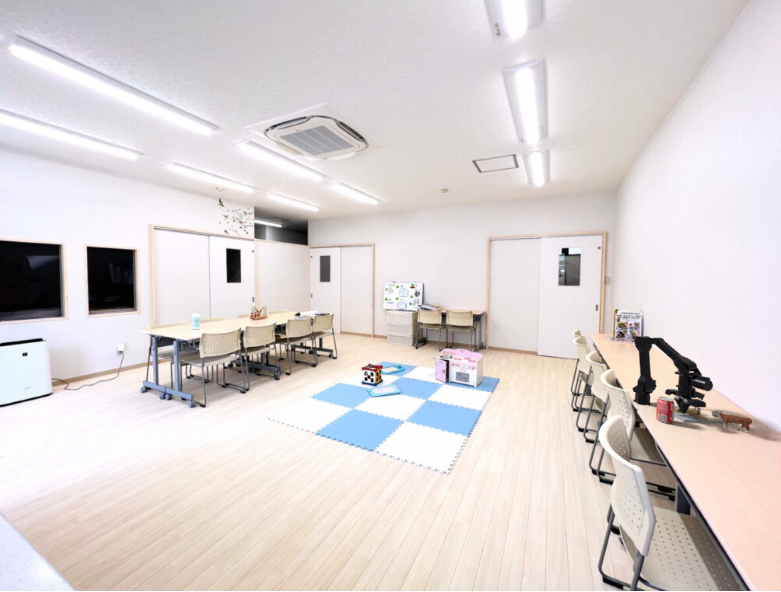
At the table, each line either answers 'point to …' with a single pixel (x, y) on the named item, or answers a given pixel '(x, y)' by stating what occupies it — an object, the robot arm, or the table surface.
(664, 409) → the soda can
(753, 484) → the table surface
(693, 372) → the robot arm
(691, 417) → the door mockup
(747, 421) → the bull figurine
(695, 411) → the latch bar
